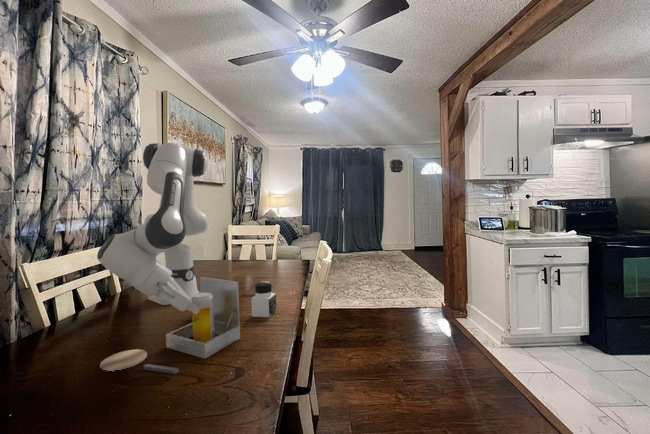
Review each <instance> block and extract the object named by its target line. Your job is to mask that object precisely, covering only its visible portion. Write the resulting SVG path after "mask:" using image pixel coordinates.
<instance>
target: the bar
mask: <svg viewBox="0 0 650 434" xmlns="http://www.w3.org/2000/svg"><path fill="white" fill-rule="evenodd" d="M142 367H143V368H142V370H146V371H152V372H159V373H167V374H172V375H174V374H175V375H176V374H177V373H179V372H180V369H179V367H171V366H167V365H166V366H165V365H159V364H158V365H157V364H152V363H151V364H150V363H146V364H143V366H142Z"/></svg>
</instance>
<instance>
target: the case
mask: <svg viewBox="0 0 650 434" xmlns="http://www.w3.org/2000/svg"><path fill="white" fill-rule="evenodd" d="M199 285H200V286H199V291H200V290H201V292H210V293H211V294H212V296H213V309H214V331H215V334H216V335H217V336H215V338H213V339H211V340H209V341H207V342H206V343H203V342H199V341H196V340H193V339H191V337H193V322H191V323H188V324H186V325H184V326H181V327H179V328H177V329H175V330H173V331H170V332H168V333H166V334H165V345H166V346H165V347H166V348H167V349H171V350H174V351H177V352H181V353H184V354H188V355H191V356H194V357H198V358H201V359H208V358H209V357H211V356H213V355H214V354H216V353H217V352H219V351H221V350H222V349H224V348H226V347H228V346H230V345H231V344H233V343H234V342H236V341H238V340H240V339H241V324H240V322H241V321H240V320H241V318H240V301H239V300H240V299H239V297H240V296H239V282H238V281H234V280H229V279H228V280H225V279H218V278H213V277H211V278H210V277H203V276H200V277H199Z"/></svg>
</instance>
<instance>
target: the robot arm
mask: <svg viewBox="0 0 650 434" xmlns="http://www.w3.org/2000/svg"><path fill="white" fill-rule="evenodd" d="M142 161H143V165H144V167H145V168H146V169H147V174H146V184H147V186H148V187H149V189H150V190H151V191H153V192H154V193H156V194H158V195H159V196H160V200H159V207H158V209H157V211H156V212H155V213H151V214H150V213H149V214H148V215H147V216H146V217H145V219H144V222H143V223H142V224H141V225H139V226H138V227H136V228H134V229H132V230H129V231H128V230H127V231H126V232H123V233H114V234H112V235H110V236H108V238H106V240H105V242H103V244H101V246H100V248H99V250H98V252H97V255H96V257H97V260H98V262H99V263H100V264H101V265H102V266H103V267H104V268H105V269H106V270H108V271H109V272H111V273H112V274H113V275H115V276H116V277H118V278H119V279H121V280H125V281H127V282H129V284H131V286H132V287H133V288H134V289H135V290H137V291H139V292H141V293H143V294H144V295H145V296H147V300H148V301H151V302H154V303H156V304H158V305H162V306H166V305H171V306H172V307H174V308H175V309H177V310H178V311H180V312H183V313H184V312H185V311H186V310H187V311H189V312H191V313H192V312H193V313H194V314H197V313H198V312H199V311H200V309H199V308H198V307H197V306H195V305H194V304H193V303H192V297H193V295H194V294H197V293H200V290H198V285H197V284H198V283H197V278H196V276H195V273H196V271H195V270H196V269H195V265H194V255H193V252H194V251H193V249H192V247H191V246H189V245H187V244H185V243H182V242H183V241H184V239H185V237H186V236H196V235H199V234H204V233H205V232H206V231H207V230H208V228H209V227H208V226H209V218H208V216H207V215H206V214H205V212H204V211H201V210H200V209H199V208H198V206H197V205H196V204H195V200H194V199H195V198H194V182H195V181H194V180H195V179H194V178H197V177H201V176H203V175H204V174H205V172H206V171H207V169H208V158H207V155H206V153H205V152H204V151H203V150H200V149H198V148H195V149H194V148H191V147H186V146H184V145H183V146H182V145H179V144H177V143H174V142H164V143H162V144H160V143H156V142H155V143H153V142H152V143H149V144H148V145H146V146H145V147H144V150H143V153H142ZM161 253H164V258H165V259H164V260H165V265H164V263H162V262H160V261H158V260H157V256H159V255H160V254H161Z"/></svg>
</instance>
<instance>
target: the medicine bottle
mask: <svg viewBox="0 0 650 434" xmlns="http://www.w3.org/2000/svg"><path fill="white" fill-rule="evenodd" d="M254 287H255V289H254V290H255V295H253V296H252V297H251V298H250V299H251V303H250V304H251V316H252V317H253V318H271V317H272V316H273V314H275V312H277V297H276V295H277V294H276V293H275V292H273V291H272V289H273V287H272V283H271V282H270V281H260V282H257V283H255V285H254Z"/></svg>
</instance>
